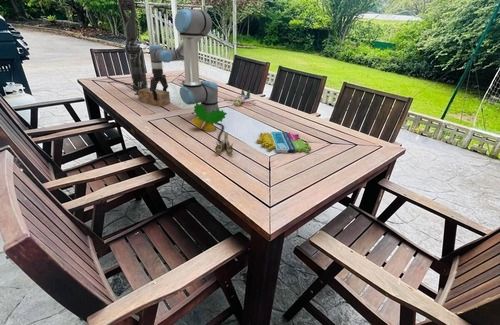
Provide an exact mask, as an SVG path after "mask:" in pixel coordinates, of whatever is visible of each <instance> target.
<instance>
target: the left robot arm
mask: <svg viewBox="0 0 500 325" xmlns="http://www.w3.org/2000/svg"><path fill="white" fill-rule="evenodd" d="M117 4H118V9H119V12H120V15H121V19H122V24H123V29H124V34H125V46H124V51H125V53H126V54H127V55H129V67H130V75H131V79H132V83H128V82H125V81H124V82H123V81H120V80H117V79H114V78H113V77H110V76H109V75H107V76H106V78H109V79H111V80H113V81H115V82H117V83H121V84H124V85H127V86H130V87H131V88H132V89H133V90H134V91H136V93H137V94H138V91H139V90H141V89H145V88H149V86H148V85H149V84H148V81H147V72H146V66H145V55H144V54H145V53H144V51H143V50H142V48H141V46H140V45H139V44H137V43H136V42H137V40H138V39H139V32H138V26H137V24H136V22H137V21H136V20H137V19H136V18H137V16H136V15H137V14H136V11H137V10H136V0H117ZM127 11H130V15H129V14H128V13H127Z"/></svg>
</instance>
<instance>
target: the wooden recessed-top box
mask: <svg viewBox="0 0 500 325" xmlns="http://www.w3.org/2000/svg"><path fill="white" fill-rule="evenodd" d="M155 92H156V93H157V101H156V100H154V98H153V93H152V91H150V87H148V88H145V89H141V90H139V95H140V100H139V102H140V103H144V104H149V105H153V106H158V107H164V106H167V105H170V104H171V96H170V91H168V90H167V91H163V89H158V88H156V91H155Z"/></svg>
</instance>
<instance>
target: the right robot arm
mask: <svg viewBox="0 0 500 325" xmlns="http://www.w3.org/2000/svg"><path fill="white" fill-rule="evenodd" d="M174 27H175V30H176V31H177V32H178V33H179V36H180V37H181V39H182V42H181V43H180V44H179V45H178V47H177V48H175V49H162V48H161V45H159V44H150V45H149V56H150V64H151V65H150V66H151V74H153V76H150V77H149V78H150V82H149V83H150V84H149V88H150V91H152V93H153V98H154V100H156V101H157V93H156V92H155V91H156V89H157V86H158V84H159V82H160V85H161V86H162V90H163V91H168V90H167V89H168V88H169V83H168V80H167V78H166V74H164V69H163V67H164V66H163V63H165V64H167V63H170V62H179V61H183V62H184V63H183V64H184V65H183V67H184V80H185V81H184V82H183V83H182V86H181V87H180V88H179V96H180V99H181V101H182V102H183V103H184V104H186V105H188V106H191V105H196V102H197V103H198V104H201V106H204V109H206V112H208V113H211V112H212V110H214V111H216V110H217V109H219V111H221V110H220V108H219V102H218V99H219V98H218V97H219V88H218V84H217V82H214V81H210V80H199V79H200V70H199V69H200V68H199V66H200V65H199V43H200V41H201V40H202V39H203V37H204V38H205V37H207V36H208V35H209V34H210V32H211V30H212V27H213V21H212V18H211V16H210V14H209V13H208V12H206V11H205V10H202V9H191V8H180V9H178V10H177V12H176V13H175V16H174ZM208 113H207V115H208ZM215 124H216V125H219V126H221V127H222V128H221V131H220V132H219V134H218V137H217V139H218V140H217V141H218V142H219V143H220V144H221V141H222V140H221V139H220V137H221V135H222V133H223V131H224V128H225V126H224V124H222V123H220V122H218V123H215Z"/></svg>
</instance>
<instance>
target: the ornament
mask: <svg viewBox="0 0 500 325" xmlns="http://www.w3.org/2000/svg"><path fill="white" fill-rule="evenodd" d="M219 110H220V108H219V109H217V110H216V111H214V110H212V112H211V113H208V112H206V109H204V106H201V103H197V102H196V104H195V105H194V106H193V112H194V113H195V118H192V119H191V122H192V123H193V125H195V127H197V128H198V129H202V130H203V131H206V132H212V131H213V132H214V131H215V130H216V126H215V124H216V123H220V122H223V119H226V115H227V114H228V113H227V112H224V110H223V109H221V110H220V111H219ZM207 113H208V115H207Z"/></svg>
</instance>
